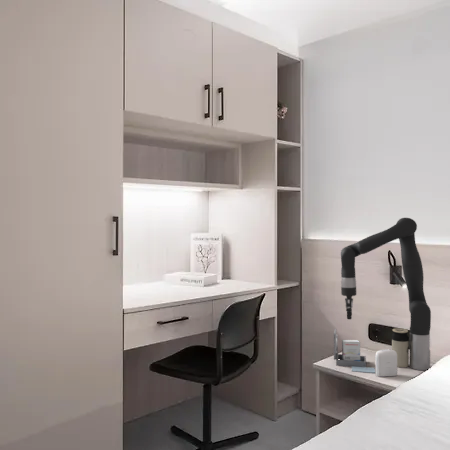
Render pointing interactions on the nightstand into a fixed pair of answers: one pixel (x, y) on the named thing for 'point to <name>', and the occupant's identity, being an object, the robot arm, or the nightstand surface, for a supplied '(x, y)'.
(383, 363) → the photo printer
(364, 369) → the pad
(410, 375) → the nightstand surface
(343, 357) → the ink box
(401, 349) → the travel mug
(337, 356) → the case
